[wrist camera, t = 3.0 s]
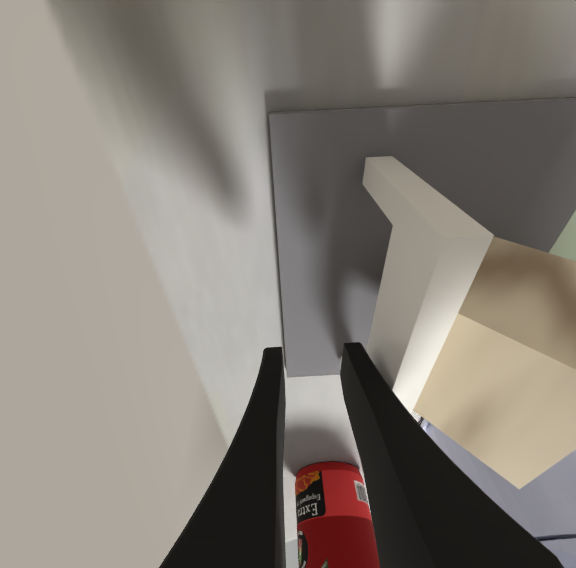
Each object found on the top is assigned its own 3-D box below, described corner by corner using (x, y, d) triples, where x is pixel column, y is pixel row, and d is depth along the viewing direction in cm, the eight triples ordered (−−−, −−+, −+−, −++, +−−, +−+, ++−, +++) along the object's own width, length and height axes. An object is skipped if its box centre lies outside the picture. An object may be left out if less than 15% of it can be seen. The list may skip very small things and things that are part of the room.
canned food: (306, 457, 30) (319, 616, 22) (372, 463, 32) (409, 612, 23) (286, 482, 35) (290, 622, 26) (345, 486, 36) (367, 618, 28)
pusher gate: (392, 155, 11) (494, 235, 6) (354, 365, 19) (383, 472, 14) (365, 157, 11) (445, 238, 6) (339, 365, 19) (363, 473, 14)
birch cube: (470, 229, 13) (658, 286, 10) (433, 320, 17) (559, 385, 13) (402, 286, 10) (642, 401, 6) (376, 382, 14) (519, 489, 10)
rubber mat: (957, 78, 11) (990, 79, 10) (642, 350, 20) (651, 357, 20) (269, 112, 10) (268, 114, 10) (286, 370, 20) (287, 377, 20)
